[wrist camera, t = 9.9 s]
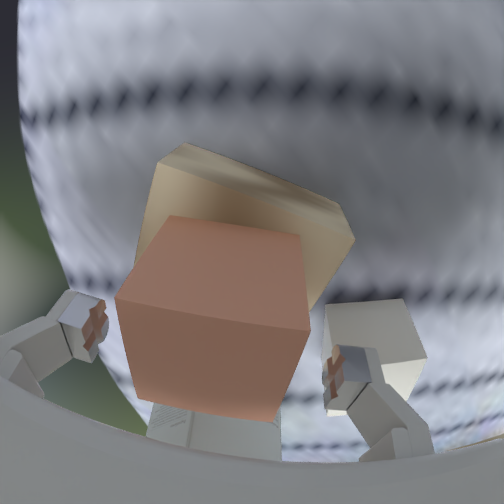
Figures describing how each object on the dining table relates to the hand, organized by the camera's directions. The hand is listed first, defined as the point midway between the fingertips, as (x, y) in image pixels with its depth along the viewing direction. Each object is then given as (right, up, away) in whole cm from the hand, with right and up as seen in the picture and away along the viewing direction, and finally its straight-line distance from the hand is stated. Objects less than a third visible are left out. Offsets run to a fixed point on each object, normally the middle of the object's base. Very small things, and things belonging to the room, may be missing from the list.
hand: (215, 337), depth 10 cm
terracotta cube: (0, +2, +3) cm, 3 cm away
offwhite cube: (+8, -2, +9) cm, 12 cm away
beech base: (0, +4, +6) cm, 7 cm away
